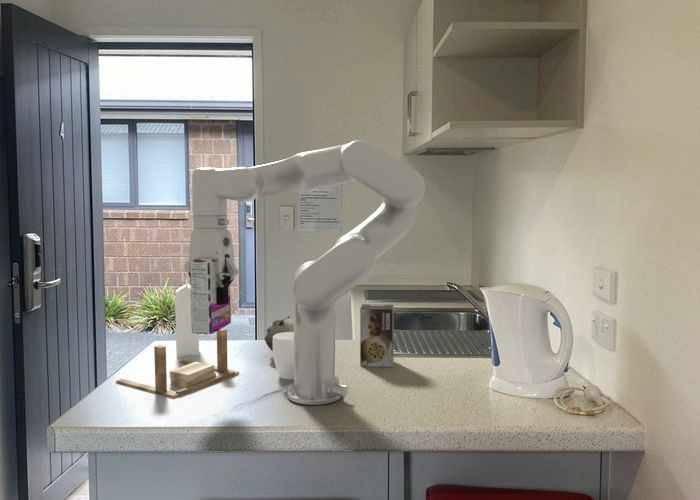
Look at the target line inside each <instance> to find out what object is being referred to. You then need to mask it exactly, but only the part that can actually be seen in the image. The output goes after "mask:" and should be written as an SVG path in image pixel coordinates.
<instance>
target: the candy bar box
mask: <svg viewBox="0 0 700 500" xmlns="http://www.w3.org/2000/svg"><path fill="white" fill-rule="evenodd" d="M228 274H229V273H228ZM221 277H222V280H223V279H224V278H223V276H221ZM189 278H190V279H189V280H190V286H191V319H192V333H197V334H199V335H201V334H202V335H212V334H214V333H217V331H218V330H220V329H221V328H222V329H224V328H225V327H226V326H228V325H230V324H232V314H231V285H230V286H228V292H229V302H228V304H223V305H217V287H219V286H218V282H217V277H216V274H215V266H214V260H213V259H204V258H197V259H194V260H190V277H189Z"/></svg>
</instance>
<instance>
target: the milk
mask: <svg viewBox="0 0 700 500" xmlns="http://www.w3.org/2000/svg"><path fill="white" fill-rule="evenodd" d="M174 303H175V305H174V307H175V311H174V312H175V342H176V343H175V345H176V346H175V348H176V349H175V350H176V352H175V353H176V359H178V358H182V357H186V356H195V355H196V356H199V354H200V334H197V333H192V319H191V286H190V284H189V283H188V278H186V279H185V284H184V285H183V284H182V286H180V287H179V288H177V289H176V290H175V292H174Z"/></svg>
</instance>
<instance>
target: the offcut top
mask: <svg viewBox="0 0 700 500" xmlns="http://www.w3.org/2000/svg"><path fill="white" fill-rule="evenodd" d="M214 366H215V364H213V363H206V362H199V361H193V363H191V364H188V365H186V364H184V365H183V366H181V367H177V368H174V369H171V370H169V379H170V380H171V379H175V380H180V381H185V382H191V381H193V380H196V379H198V378H201V377H203V376H206V375H208V374H211V373H213V372H214V373H215V371H214Z"/></svg>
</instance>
